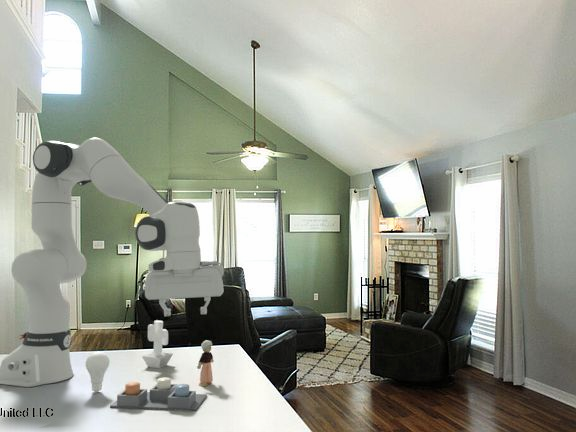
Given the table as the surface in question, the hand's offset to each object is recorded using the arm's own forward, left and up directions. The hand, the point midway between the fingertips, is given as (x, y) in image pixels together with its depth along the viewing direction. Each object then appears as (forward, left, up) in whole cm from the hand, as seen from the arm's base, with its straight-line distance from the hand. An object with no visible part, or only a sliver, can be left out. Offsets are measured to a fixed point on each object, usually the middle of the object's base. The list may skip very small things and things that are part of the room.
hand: (185, 315), depth 123 cm
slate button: (0, -3, -21) cm, 21 cm away
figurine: (-19, +33, -23) cm, 45 cm away
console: (-6, 0, -23) cm, 23 cm away
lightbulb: (-26, +5, -23) cm, 35 cm away
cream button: (-6, +2, -21) cm, 22 cm away
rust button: (-13, -3, -21) cm, 24 cm away
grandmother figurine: (+2, +16, -23) cm, 28 cm away
